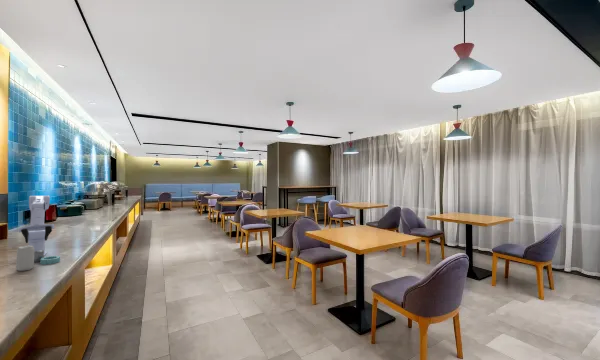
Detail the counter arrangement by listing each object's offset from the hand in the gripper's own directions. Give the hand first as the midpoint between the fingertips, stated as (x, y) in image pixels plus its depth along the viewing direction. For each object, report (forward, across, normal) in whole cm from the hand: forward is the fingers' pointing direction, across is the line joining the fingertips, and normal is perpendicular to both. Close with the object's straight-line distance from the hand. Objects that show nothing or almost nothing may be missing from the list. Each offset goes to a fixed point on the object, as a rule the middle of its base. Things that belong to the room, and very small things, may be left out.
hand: (36, 240), depth 148 cm
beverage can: (+16, -4, 0) cm, 17 cm away
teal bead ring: (+11, +5, +7) cm, 14 cm away
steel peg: (+8, 0, +11) cm, 13 cm away
